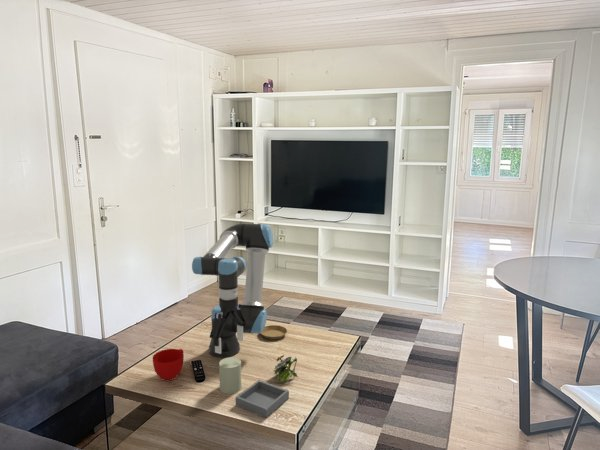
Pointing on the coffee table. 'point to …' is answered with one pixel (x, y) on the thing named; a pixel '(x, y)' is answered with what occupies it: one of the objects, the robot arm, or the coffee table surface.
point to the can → (230, 375)
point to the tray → (262, 398)
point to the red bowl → (168, 363)
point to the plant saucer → (274, 332)
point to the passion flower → (282, 370)
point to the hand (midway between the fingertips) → (229, 346)
